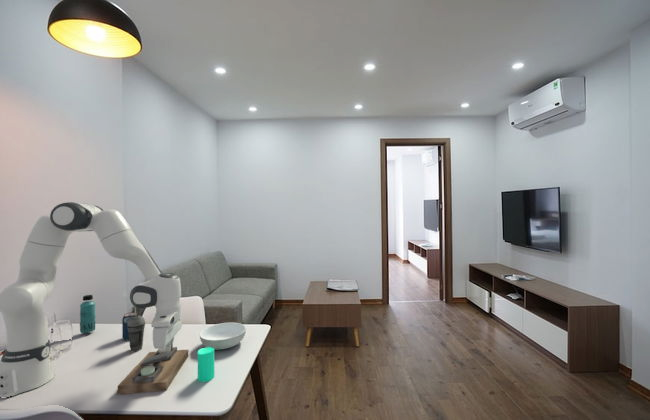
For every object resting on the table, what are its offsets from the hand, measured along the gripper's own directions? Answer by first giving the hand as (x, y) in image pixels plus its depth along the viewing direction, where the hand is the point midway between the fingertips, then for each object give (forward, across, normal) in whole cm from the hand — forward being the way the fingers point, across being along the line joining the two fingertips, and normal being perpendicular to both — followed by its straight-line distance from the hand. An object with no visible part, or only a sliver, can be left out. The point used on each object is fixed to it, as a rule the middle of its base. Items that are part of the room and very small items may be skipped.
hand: (169, 349), depth 118 cm
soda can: (+9, -37, -32) cm, 49 cm away
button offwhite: (+4, -8, -4) cm, 10 cm away
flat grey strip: (+4, 0, -4) cm, 6 cm away
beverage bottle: (+9, -46, -56) cm, 73 cm away
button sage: (+6, +8, -5) cm, 11 cm away
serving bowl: (+10, -22, +16) cm, 29 cm away
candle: (+9, +6, +15) cm, 19 cm away
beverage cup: (+9, -23, -22) cm, 33 cm away
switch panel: (+9, 0, -5) cm, 10 cm away
